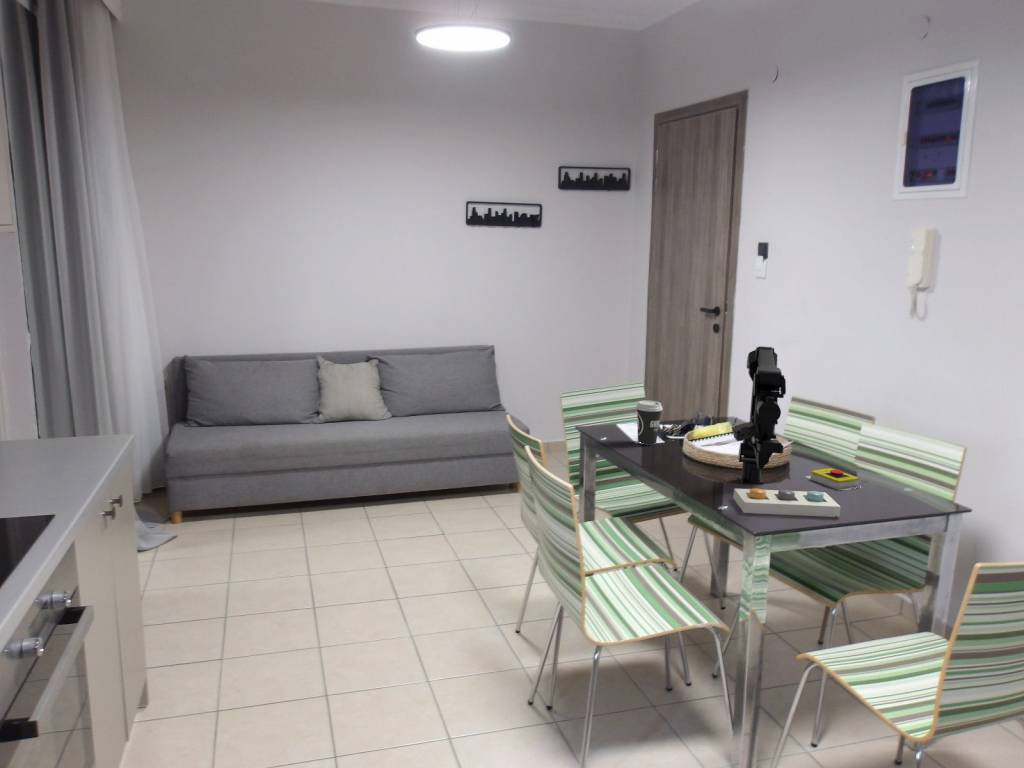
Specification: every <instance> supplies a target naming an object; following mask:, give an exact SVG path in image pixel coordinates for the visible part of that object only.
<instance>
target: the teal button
mask: <svg viewBox="0 0 1024 768" xmlns="http://www.w3.org/2000/svg"><path fill="white" fill-rule="evenodd" d="M806 492H807V498H806V500H807V501H811V502H823V498H824V494H823V493H821V491H816V490H808V491H806Z"/></svg>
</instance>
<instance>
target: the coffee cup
mask: <svg viewBox="0 0 1024 768" xmlns="http://www.w3.org/2000/svg"><path fill="white" fill-rule="evenodd" d="M635 409H636V412H637V413H636V416H637V417H636V418H637V419H636V420H637V424H636V425H637V442H638V441H639V442H641V443H644V444H654V443H656V444H657V439H658V433H659V428H660V427H659V426H660V421H661V416H662V415H661V414H662V411H663V410H664V409H663V406H662V403H661V402H659V401H655V400H640V401H638V403H637V404H636V405H635Z"/></svg>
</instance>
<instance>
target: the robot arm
mask: <svg viewBox="0 0 1024 768" xmlns="http://www.w3.org/2000/svg"><path fill="white" fill-rule="evenodd" d="M746 369H747V370H748V376H749V378H750V379H751V381H752V385H751V400H750V412H749V421H747V422H744V423H739V424H737V425H733V426H731V430H732V431H731V432H732V435H733V438H734V439H735V441H737V442H740V444H739V448H738V455H737V459H738V462H739V463H742V464H741V465H742V467H741V468H742V469H741V475H738V476H737V477H738V479H739V480H740V481H741V482H742V483H743V484H761V485H762V484H763V485H764V483H765V482H764V480H763V479H762V478H761V477H762V475H761V474H762V470H763V469H764V468H765V466H767V465H768V464H769V463H770V458H771V457H772V455H773V454H781V455H782V454H784V448H785V447H784V445H783V444H782V443H781V442H780V441H779V440H778V439H777V434H775V429H776V425H778V423H779V421H778V420H779V419H780V417H781V414H782V410H781V407H780V405H779V404H778V402H779V401H778V400H779V399H783V398H784V397H785V395H786V393H787V384H786V382H787V381H786V378H785V375H784V374H782V373H783V372H782V370H781V368H780V367H778V354H777V353H776V352H775V348H774V347H772V346H762V345H761V346H756V348H755V349H754V350H752V351H750V352H748V355H747V359H746ZM778 398H779V399H778ZM741 441H742V442H741Z"/></svg>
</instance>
